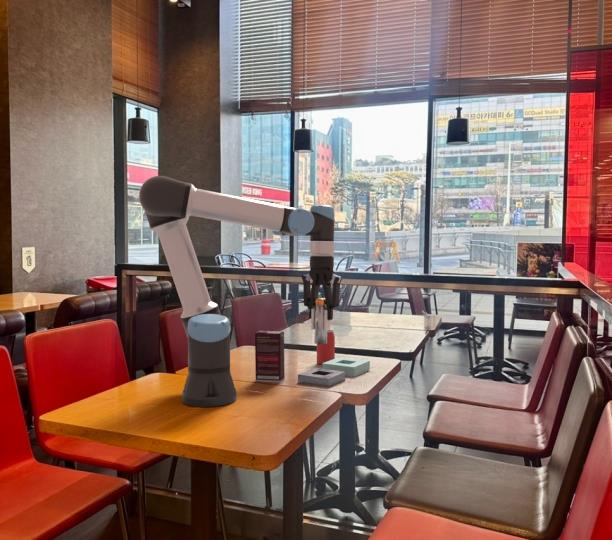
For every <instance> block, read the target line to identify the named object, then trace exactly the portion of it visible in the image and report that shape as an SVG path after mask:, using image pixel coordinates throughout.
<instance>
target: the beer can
mask: <svg viewBox="0 0 612 540" xmlns="http://www.w3.org/2000/svg"><path fill="white" fill-rule="evenodd" d="M335 338H336V337H335V334H334V331H333V330H332V329H330V330H328V331H327V344H316V363H317V364H318V365H320V364H322V363H324V362H327V361H330V360H333V359H336V358H335V357H336V354H335V353H336V351H335V350H336V347H335V346H336V345H335V344H336V342H335V341H336V339H335Z"/></svg>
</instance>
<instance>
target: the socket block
mask: <svg viewBox="0 0 612 540" xmlns="http://www.w3.org/2000/svg"><path fill="white" fill-rule="evenodd" d="M370 365H371V361H370V360H366V359H365V360H364V359H356V358H349V357H348V358H346V357H341V356H340V357H336V358H335V359H333V360H330V361H327V362H324V363H322V365H321V366H322V368H321V369H328V370H335V371H343V372H345V377H346V376H347V377H355V378H356V377H357V376H359V375H362V374H364V373H368V372H370V371H371V370H370V368H371V366H370ZM369 370H370V371H369ZM367 371H368V372H367Z"/></svg>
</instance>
